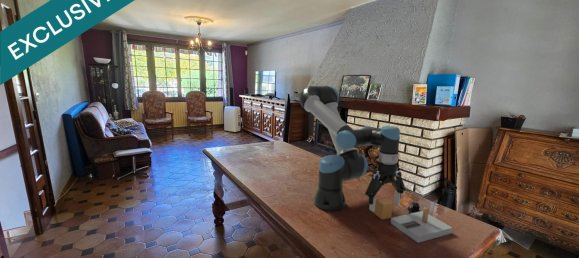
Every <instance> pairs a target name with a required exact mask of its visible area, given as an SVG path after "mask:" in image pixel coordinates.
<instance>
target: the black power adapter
mask: <svg viewBox="0 0 579 258" xmlns="http://www.w3.org/2000/svg"><path fill="white" fill-rule="evenodd" d="M407 207H408V208H407V211H409V212H408V214H411V213H415V212H420V211H421V209H420V208H421V207H420V203H419V202H414V201H413V202H412V201H411V205H410V206H407ZM410 207H411V208H410ZM419 209H420V210H419Z"/></svg>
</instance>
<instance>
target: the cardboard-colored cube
mask: <svg viewBox="0 0 579 258" xmlns="http://www.w3.org/2000/svg"><path fill="white" fill-rule="evenodd" d="M393 206H394V202H393V201H390V200H389V199H387V198H385V197H383V198H378V199H377V198H376V201H375V212H374V215H375V216H377V217H378V218H379V219H381V220H387V219H391V218H392V214H393V213H392V212H393Z"/></svg>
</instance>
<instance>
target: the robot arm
mask: <svg viewBox="0 0 579 258" xmlns="http://www.w3.org/2000/svg"><path fill="white" fill-rule="evenodd" d="M339 98H340V95H339V92H338V91H337V89H336V88H335V87H333V86H330V85H324V86H323V85H322V86H320V85H317V86H316V85H309V86H306V87H305V88H303V89H302V90H301V92H300V94H299V98H298V101H299V104H300V105H301V107H302V108H303V109H304V110H305V111H306V112H308V113H311V115H313V116H314V117H315V118H316V119H317V120H318V121H319V122H320V123H322V125H323V126H324V127H326V129H328V133H329V135H330V137H331V140H332V144H333V145H334V148H335V151H336V154H329V155H325V156H323V157H321V158H320V159H319V165H318V183H317V184H318V187H317V190H316V192H315V196H314V199H313V200H314V202H313V204H314V205H315V206H316V207H318V208H319V209H321V210H324V211H330V212H336V211H340V210H342V209H344V208H345V206H346V197H345V194H344V191H343V188H344V187H343V186H344V184H343V183H344V182H347V181H351V180H355V179H356V180H357V179H359V178H362V177H363V176H365V175H366V174H367V171H368V169H369V168H368V167H369V163H368V160H367V158H366V157H365V155H363V154H360V153H359V151H358V148H359V147H364V146H365V147H366V146H375V147H377V148H378V147H379V152H378V153H379V154H378V168H377V169H378V173H372V175H371V180H370V181H369V184H368V186H367V188H366V190H365V193H364V195H366V196H367V197H368V204H369V208H368V209H369V210H370V211H371V212H372V213H375V203H376V200H377V198H376V197H375V196H376V195H377V194H378V192H379V191H380V190H381V188H382V187H383V186H385V185H386V184H391V185H392V186H393V188H394V189H395V190H394V193H393V194H394V195H393V206H395V207H397V208H399V207H400V203H401V201H400V200H401V197H402V194H404V191H406V187H405V184H404V180H403V178H402V172H401V171H399V170H398V159H399V145H400V139H401V137H400V133H401V130H400V128H399V127H398V126H394V125H393V126H391V125H384V126H383V125H382V127H381V128H380V129H378V128H373V127H369V126H367V127H366V126H362V127H360V128H359V129H353V128H352V127H351V126H350V125H348V123H346V122H345V121H344V120H343V119H342V118H341V115H340V112H339V111H338V107H339V101H340V99H339ZM357 147H358V148H357Z"/></svg>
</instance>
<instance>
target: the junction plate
mask: <svg viewBox="0 0 579 258" xmlns="http://www.w3.org/2000/svg"><path fill="white" fill-rule="evenodd" d="M390 224H391V225H392V226H394V228H395V227H396V229H398V230H400V231H401V232H402V233H404V234H405V235H406V236H408V237H409V238H410V239H412V240H414V241H415V242H416V243H417V244H418V243H423V242H425V241H430V240H433V239H436V238H439V237H444V236H447V235H451V234H452V233H453V227H452V226H450V225H448V224H447V223H445V222H443V221H442V220H439V218H436V217H435V216H432V215H431V214H430V208H429V207H426V206H424V207H423V209H422V210H420V212H415V213H411V214H409V213H407V214H402V215H398V216H393V217H391V218H390Z"/></svg>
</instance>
